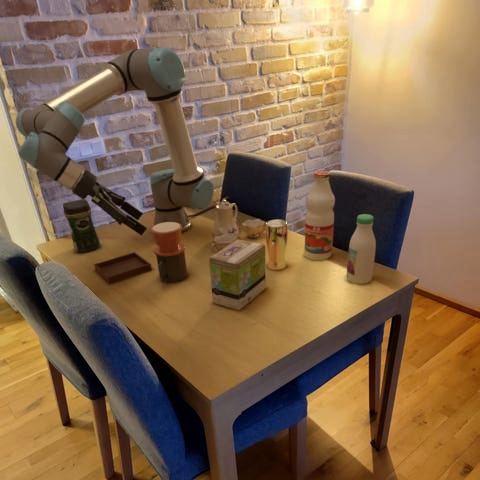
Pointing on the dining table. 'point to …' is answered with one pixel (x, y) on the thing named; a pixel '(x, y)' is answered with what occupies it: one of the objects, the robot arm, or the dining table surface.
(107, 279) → the tray
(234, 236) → the chinaware
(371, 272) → the milk bottle
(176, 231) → the filter
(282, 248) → the beer glass
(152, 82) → the robot arm
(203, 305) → the dining table surface
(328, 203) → the fruit juice
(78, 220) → the coffee jar
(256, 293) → the tea box
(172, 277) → the mug
